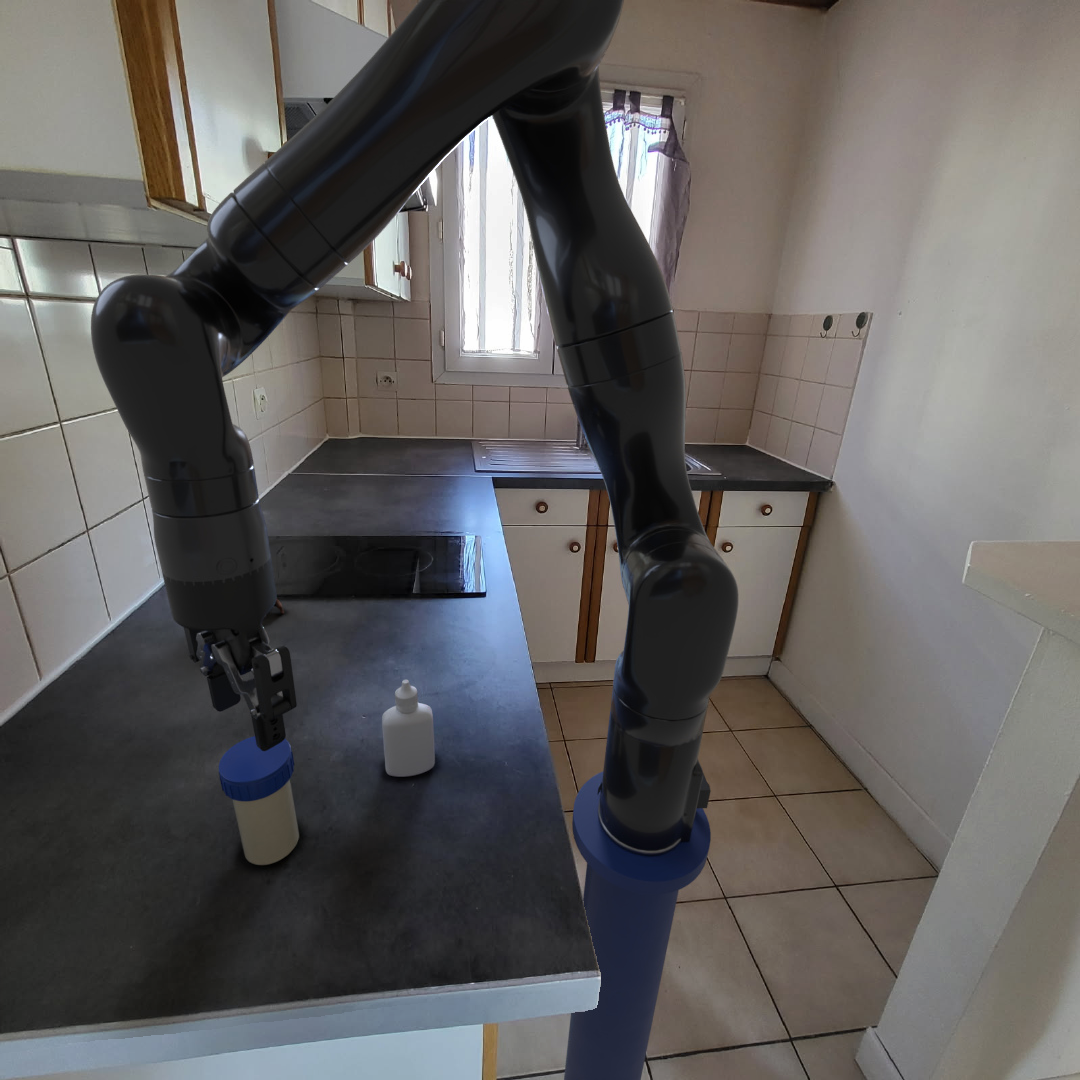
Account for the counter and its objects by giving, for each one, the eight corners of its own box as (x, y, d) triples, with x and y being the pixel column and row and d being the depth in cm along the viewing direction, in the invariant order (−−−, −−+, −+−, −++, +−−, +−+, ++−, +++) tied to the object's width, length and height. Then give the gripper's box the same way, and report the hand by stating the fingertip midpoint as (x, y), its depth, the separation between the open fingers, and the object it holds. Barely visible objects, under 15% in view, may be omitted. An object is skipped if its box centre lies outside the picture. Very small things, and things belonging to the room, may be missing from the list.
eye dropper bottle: (397, 748, 68) (391, 665, 63) (440, 757, 67) (437, 674, 62) (379, 774, 64) (371, 688, 60) (424, 785, 63) (420, 698, 58)
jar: (306, 820, 58) (293, 741, 54) (288, 865, 53) (273, 781, 49) (256, 821, 58) (240, 741, 54) (234, 866, 53) (215, 782, 49)
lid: (303, 751, 55) (300, 733, 54) (280, 801, 50) (276, 782, 49) (240, 752, 55) (236, 733, 54) (209, 802, 49) (204, 782, 48)
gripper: (313, 568, 43) (333, 738, 49) (222, 522, 50) (249, 673, 57) (210, 604, 37) (248, 790, 43) (126, 545, 45) (168, 711, 51)
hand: (248, 724), depth 50 cm, fingers open, 7 cm apart
